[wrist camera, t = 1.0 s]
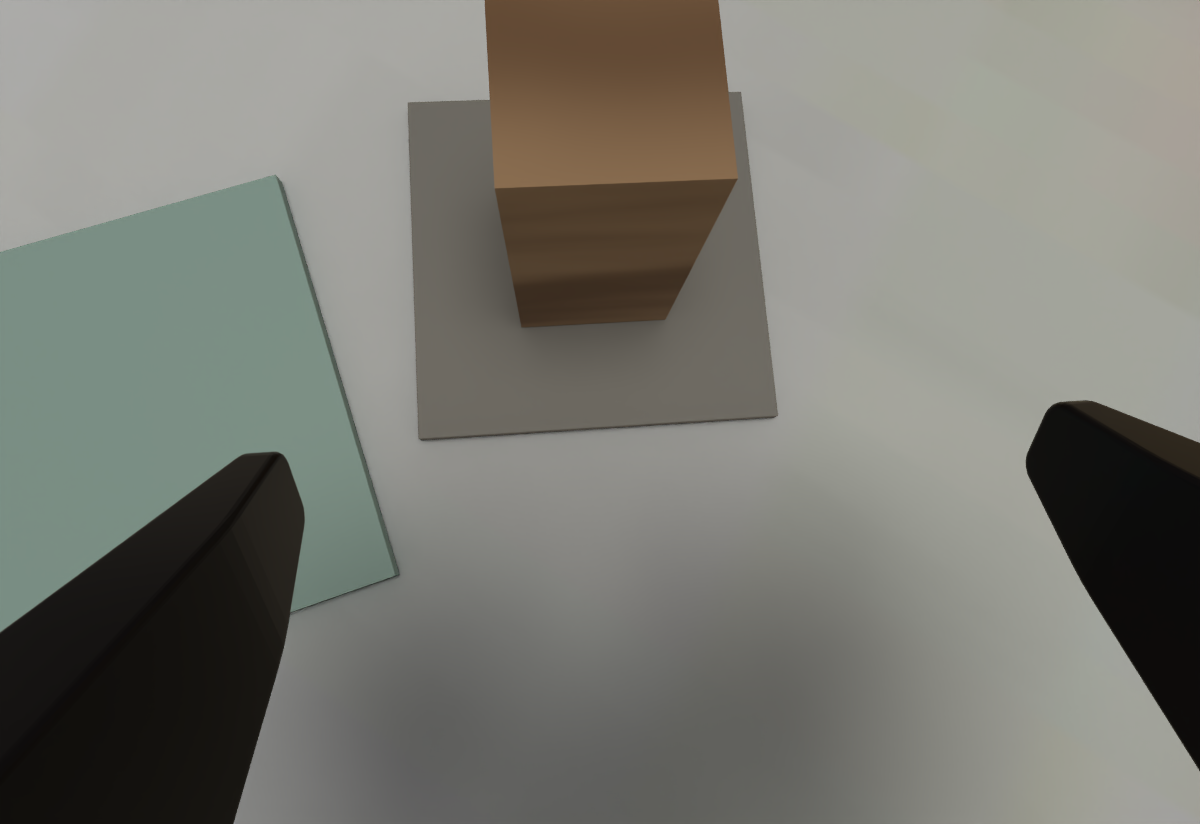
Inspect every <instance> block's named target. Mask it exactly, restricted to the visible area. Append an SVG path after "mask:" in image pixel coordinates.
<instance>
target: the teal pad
mask: <svg viewBox="0 0 1200 824" xmlns="http://www.w3.org/2000/svg"><path fill="white" fill-rule="evenodd" d="M274 451H276V452H279V453H281V454H283V455H284V456H285V458H286V459H287V461H288V463H289V466H290V469H291V472H292V475H293V477H294V480H295V483H296V486H297V489H298V491H299V494H300V497H301V500H302V503H303V506H304V512H305V525H304V532H303V538H302V544H301V550H300V556H299V562H298V568H297V575H296V581H295V587H294V593H293V599H292V605H291V611H290V612H293V611H296V610H299V609H302V608H305V607H307V606H310V605H313V604H316V603H319V602H322V601H325V600H327V599H330V598H333V597H336V596H339V595H342V594H345V593H347V592H350V591H353V590H356V589H359V588H362V587H365V586H367V585H370V584H373V583H376V582H379V581H382V580H385V579H387V578H390V577H393V576H396V575H399V572H398V569H397V565H396V562H395V559H394V555H393V552H392V549H391V545H390V542H389V539H388V535H387V532H386V529H385V525H384V522H383V519H382V515H381V512H380V508H379V505H378V502H377V498H376V495H375V492H374V488H373V485H372V482H371V478H370V475H369V472H368V468H367V465H366V462H365V458H364V455H363V452H362V448H361V445H360V442H359V438H358V435H357V432H356V428H355V425H354V422H353V418H352V415H351V412H350V408H349V405H348V402H347V398H346V395H345V392H344V388H343V385H342V382H341V378H340V375H339V372H338V368H337V365H336V362H335V358H334V355H333V352H332V348H331V345H330V342H329V338H328V335H327V332H326V328H325V325H324V322H323V318H322V315H321V311H320V308H319V305H318V301H317V298H316V295H315V291H314V288H313V285H312V281H311V278H310V275H309V271H308V268H307V265H306V261H305V258H304V255H303V251H302V248H301V245H300V241H299V238H298V235H297V231H296V228H295V225H294V221H293V218H292V215H291V211H290V208H289V205H288V201H287V198H286V195H285V191H284V188H283V185H282V182H281V181H280V180H279V178H278V177H277V176H276V175H273V176H269V177H266V178H262V179H258V180H255V181H251V182H248V183H244V184H241V185H237V186H234V187H230V188H226V189H223V190H219V191H216V192H212V193H209V194H205V195H202V196H198V197H194V198H191V199H187V200H184V201H180V202H177V203H173V204H170V205H166V206H162V207H159V208H155V209H152V210H148V211H145V212H141V213H138V214H134V215H130V216H127V217H123V218H120V219H116V220H113V221H109V222H106V223H102V224H98V225H95V226H91V227H88V228H84V229H81V230H77V231H74V232H70V233H66V234H63V235H59V236H56V237H52V238H49V239H45V240H42V241H38V242H35V243H31V244H27V245H24V246H20V247H17V248H13V249H10V250H6V251H3V252H0V632H1V631H2V630H4V629H5V628H6V627H8V626H9V625H11V624H12V623H13V622H15V621H16V620H17V619H19V618H20V617H21V616H23V615H24V614H25V613H27V612H28V611H30V610H31V609H32V608H34V607H35V606H36V605H38V604H39V603H40V602H42V601H43V600H44V599H46V598H47V597H49V596H50V595H51V594H53V593H54V592H55V591H57V590H58V589H59V588H61V587H62V586H64V585H65V584H66V583H68V582H69V581H70V580H72V579H73V578H74V577H76V576H77V575H78V574H80V573H81V572H83V571H84V570H85V569H87V568H88V567H89V566H91V565H92V564H93V563H95V562H96V561H97V560H99V559H100V558H102V557H103V556H104V555H106V554H107V553H108V552H110V551H111V550H112V549H114V548H115V547H116V546H118V545H119V544H121V543H122V542H123V541H125V540H126V539H127V538H129V537H130V536H131V535H133V534H134V533H135V532H137V531H138V530H140V529H141V528H142V527H144V526H145V525H146V524H148V523H149V522H150V521H152V520H153V519H154V518H156V517H157V516H158V515H160V514H161V513H163V512H164V511H165V510H167V509H168V508H169V507H171V506H172V505H173V504H175V503H176V502H177V501H179V500H180V499H182V498H183V497H184V496H186V495H187V494H188V493H190V492H191V491H192V490H194V489H195V488H196V487H198V486H199V485H201V484H202V483H203V482H205V481H206V480H207V479H209V478H210V477H211V476H213V475H214V474H215V473H217V472H218V471H220V470H221V469H222V468H224V467H225V466H226V465H228V464H229V463H230V462H232V461H233V460H234V459H236V458H237V457H239V456H240V455H243V454H246V453H258V452H274Z"/></svg>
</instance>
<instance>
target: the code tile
mask: <svg viewBox="0 0 1200 824" xmlns="http://www.w3.org/2000/svg"><path fill="white" fill-rule="evenodd" d="M728 93H729V102H730V111H731V120H732V129H733V138H734V147H735V156H736V165H737V174H738V180H737V181H736V183H735V185H734V187H733V189H732V191H731V193H730V195H729V197H728V199H727V201H726V203H725V205H724V207H723V209H722V211H721V213H720V215H719V216H718V218H717V220H716V222H715V224H714V226H713V228H712V230H711V232H710V234H709V236H708V238H707V240H706V242H705V244H704V246H703V248H702V250H701V251H700V253H699V255H698V257H697V259H696V261H695V263H694V265H693V267H692V269H691V271H690V273H689V275H688V277H687V279H686V281H685V283H684V285H683V286H682V288H681V290H680V292H679V294H678V296H677V298H676V300H675V302H674V304H673V306H672V308H671V310H670V312H669V314H668V316H667V318H666V320H650V321H631V322H613V323H595V324H576V325H558V326H539V327H521V323H520V317H519V312H518V307H517V302H516V297H515V291H514V286H513V281H512V276H511V271H510V266H509V260H508V255H507V250H506V245H505V240H504V234H503V229H502V224H501V219H500V214H499V209H498V203H497V198H496V193H495V186H494V167H493V148H492V129H491V110H490V100H473V101H442V102H410V103H408V124H409V155H410V186H411V217H412V248H413V279H414V310H415V341H416V372H417V403H418V434H419V439H420V440H435V439H450V438H466V437H481V436H497V435H512V434H528V433H543V432H558V431H574V430H589V429H605V428H620V427H636V426H651V425H667V424H682V423H698V422H713V421H729V420H744V419H759V418H774V417H776V416H778V412H777V403H776V394H775V385H774V377H773V368H772V359H771V350H770V342H769V333H768V324H767V316H766V307H765V298H764V289H763V281H762V272H761V263H760V254H759V246H758V237H757V228H756V219H755V211H754V202H753V193H752V184H751V176H750V167H749V158H748V150H747V141H746V132H745V123H744V115H743V106H742V97H741V92H728Z"/></svg>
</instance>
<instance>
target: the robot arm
mask: <svg viewBox="0 0 1200 824" xmlns="http://www.w3.org/2000/svg"><path fill="white" fill-rule="evenodd" d="M1026 469H1027V474H1028V476H1029V478H1030V480H1031V482H1032V484H1033V486H1034V488H1035V490H1036V492H1037V494H1038V496H1039V498H1040V500H1041V502H1042V505H1043V507H1044V509H1045V511H1046V513H1047V515H1048V517H1049V519H1050V521H1051V523H1052V525H1053V527H1054V529H1055V531H1056V533H1057V535H1058V537H1059V539H1060V541H1061V543H1062V545H1063V547H1064V549H1065V551H1066V553H1067V555H1068V557H1069V559H1070V561H1071V563H1072V565H1073V567H1074V569H1075V571H1076V573H1077V574H1078V576H1079V578H1080V580H1081V582H1082V584H1083V585H1084V587H1085V589H1086V590H1087V592H1088V594H1089V595H1090V597H1091V599H1092V600H1093V602H1094V604H1095V605H1096V607H1097V608H1098V610H1099V612H1100V613H1101V615H1102V616H1103V618H1104V620H1105V621H1106V623H1107V624H1108V626H1109V628H1110V629H1111V631H1112V632H1113V634H1114V635H1115V637H1116V639H1117V640H1118V642H1119V643H1120V645H1121V647H1122V648H1123V650H1124V651H1125V653H1126V655H1127V656H1128V658H1129V659H1130V661H1131V662H1132V664H1133V666H1134V667H1135V669H1136V670H1137V672H1138V674H1139V675H1140V677H1141V678H1142V680H1143V682H1144V683H1145V685H1146V686H1147V688H1148V690H1149V691H1150V693H1151V694H1152V696H1153V697H1154V699H1155V701H1156V702H1157V704H1158V705H1159V707H1160V709H1161V710H1162V712H1163V713H1164V715H1165V717H1166V718H1167V720H1168V721H1169V723H1170V725H1171V726H1172V728H1173V729H1174V731H1175V732H1176V734H1177V736H1178V737H1179V739H1180V740H1181V742H1182V744H1183V745H1184V747H1185V748H1186V750H1187V752H1188V753H1189V755H1190V756H1191V758H1192V759H1193V761H1194V763H1195V764H1196V766H1197V767H1198V769H1199V771H1200V443H1199V442H1196V441H1193V440H1191V439H1188V438H1186V437H1183V436H1181V435H1178V434H1176V433H1173V432H1171V431H1168V430H1165V429H1163V428H1160V427H1158V426H1155V425H1153V424H1150V423H1148V422H1145V421H1143V420H1140V419H1137V418H1135V417H1132V416H1130V415H1127V414H1125V413H1122V412H1120V411H1117V410H1115V409H1112V408H1109V407H1107V406H1104V405H1102V404H1099V403H1097V402H1093V401H1087V400H1084V401H1068V402H1058V403H1056V404H1053V405H1052V406H1051V407H1050V408H1049V409H1048V410H1047V411H1046V413H1045V415H1044V417H1043V420H1042V422H1041V424H1040V426H1039V428H1038V431H1037V433H1036V435H1035V437H1034V439H1033V442H1032V444H1031V446H1030V448H1029V451H1028V453H1027V456H1026ZM304 525H305V512H304V506H303V503H302V500H301V497H300V494H299V491H298V489H297V486H296V483H295V480H294V477H293V475H292V472H291V469H290V466H289V463H288V461H287V459H286V458H285V456H284V455H283V454H281V453H279V452H276V451H274V452H258V453H246V454H243V455H240V456H239V457H237V458H236V459H234V460H233V461H232V462H230V463H229V464H228V465H226V466H225V467H224V468H222V469H221V470H220V471H218V472H217V473H215V474H214V475H213V476H211V477H210V478H209V479H207V480H206V481H205V482H203V483H202V484H201V485H199V486H198V487H196V488H195V489H194V490H192V491H191V492H190V493H188V494H187V495H186V496H184V497H183V498H182V499H180V500H179V501H177V502H176V503H175V504H173V505H172V506H171V507H169V508H168V509H167V510H165V511H164V512H163V513H161V514H160V515H158V516H157V517H156V518H154V519H153V520H152V521H150V522H149V523H148V524H146V525H145V526H144V527H142V528H141V529H140V530H138V531H137V532H135V533H134V534H133V535H131V536H130V537H129V538H127V539H126V540H125V541H123V542H122V543H121V544H119V545H118V546H116V547H115V548H114V549H112V550H111V551H110V552H108V553H107V554H106V555H104V556H103V557H102V558H100V559H99V560H97V561H96V562H95V563H93V564H92V565H91V566H89V567H88V568H87V569H85V570H84V571H83V572H81V573H80V574H78V575H77V576H76V577H74V578H73V579H72V580H70V581H69V582H68V583H66V584H65V585H64V586H62V587H61V588H59V589H58V590H57V591H55V592H54V593H53V594H51V595H50V596H49V597H47V598H46V599H44V600H43V601H42V602H40V603H39V604H38V605H36V606H35V607H34V608H32V609H31V610H30V611H28V612H27V613H25V614H24V615H23V616H21V617H20V618H19V619H17V620H16V621H15V622H13V623H12V624H11V625H9V626H8V627H6V628H5V629H4V630H2V631H1V632H0V824H233V823H234V820H235V816H236V813H237V809H238V806H239V802H240V799H241V795H242V792H243V789H244V785H245V782H246V778H247V775H248V771H249V768H250V764H251V761H252V758H253V754H254V751H255V747H256V744H257V740H258V737H259V733H260V730H261V727H262V723H263V720H264V716H265V713H266V709H267V706H268V702H269V699H270V696H271V692H272V689H273V685H274V682H275V678H276V675H277V671H278V668H279V664H280V660H281V657H282V653H283V649H284V645H285V639H286V634H287V629H288V623H289V617H290V611H291V605H292V599H293V593H294V587H295V581H296V575H297V568H298V562H299V556H300V550H301V544H302V538H303V532H304Z"/></svg>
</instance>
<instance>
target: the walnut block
mask: <svg viewBox="0 0 1200 824" xmlns="http://www.w3.org/2000/svg"><path fill="white" fill-rule="evenodd" d="M485 15H486V34H487V53H488V72H489V91H490V110H491V129H492V148H493V167H494V186H495V193H496V198H497V203H498V209H499V214H500V219H501V224H502V229H503V234H504V240H505V245H506V250H507V255H508V260H509V266H510V271H511V276H512V281H513V286H514V291H515V297H516V302H517V307H518V312H519V317H520V323H521V327H539V326H558V325H576V324H595V323H613V322H631V321H650V320H666V318H667V316H668V314H669V312H670V310H671V308H672V306H673V304H674V302H675V300H676V298H677V296H678V294H679V292H680V290H681V288H682V286H683V285H684V283H685V281H686V279H687V277H688V275H689V273H690V271H691V269H692V267H693V265H694V263H695V261H696V259H697V257H698V255H699V253H700V251H701V250H702V248H703V246H704V244H705V242H706V240H707V238H708V236H709V234H710V232H711V230H712V228H713V226H714V224H715V222H716V220H717V218H718V216H719V215H720V213H721V211H722V209H723V207H724V205H725V203H726V201H727V199H728V197H729V195H730V193H731V191H732V189H733V187H734V185H735V183H736V181H737V180H738V174H737V165H736V156H735V147H734V138H733V129H732V120H731V111H730V102H729V93H728V84H727V75H726V66H725V57H724V48H723V39H722V30H721V21H720V12H719V3H718V0H485Z"/></svg>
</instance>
